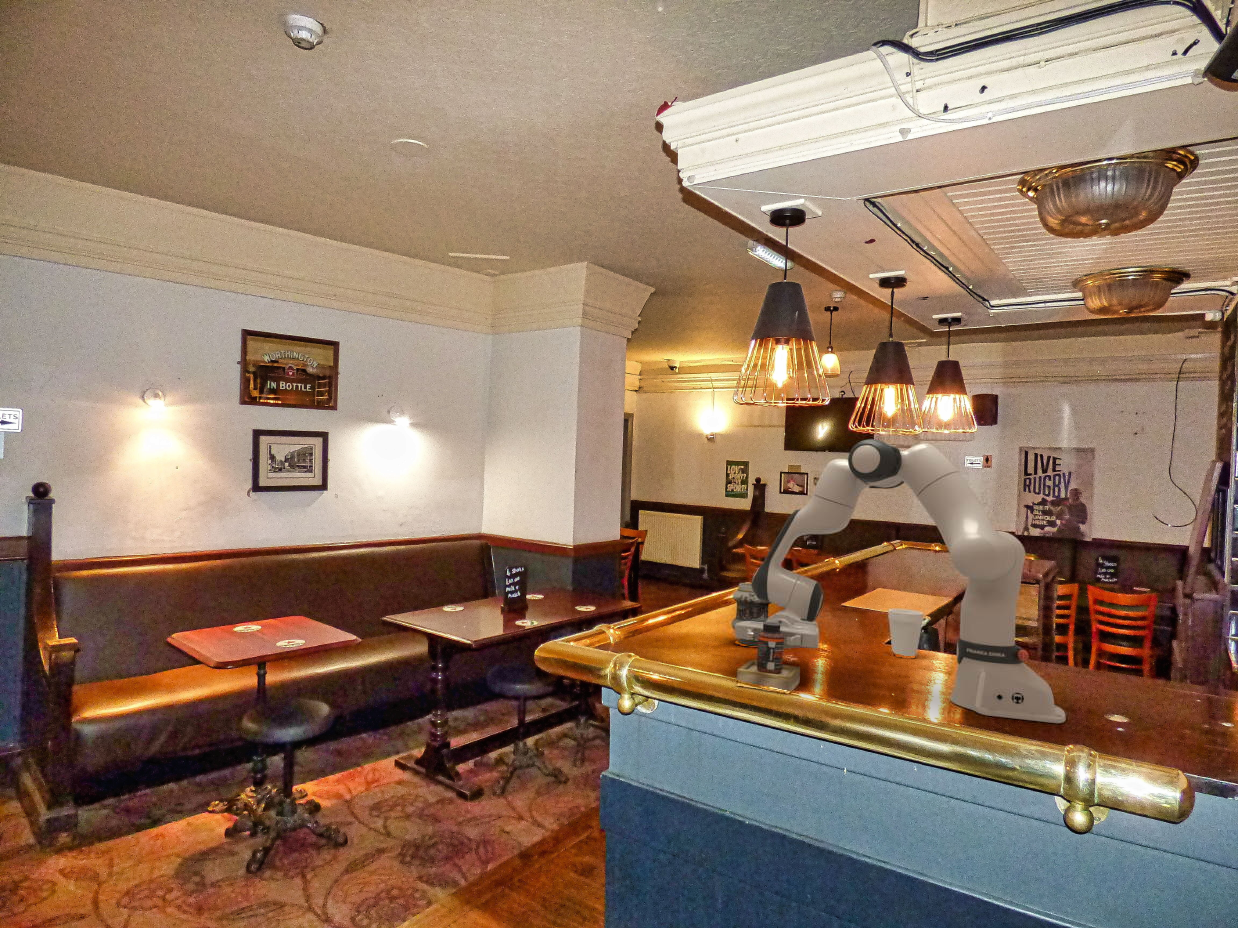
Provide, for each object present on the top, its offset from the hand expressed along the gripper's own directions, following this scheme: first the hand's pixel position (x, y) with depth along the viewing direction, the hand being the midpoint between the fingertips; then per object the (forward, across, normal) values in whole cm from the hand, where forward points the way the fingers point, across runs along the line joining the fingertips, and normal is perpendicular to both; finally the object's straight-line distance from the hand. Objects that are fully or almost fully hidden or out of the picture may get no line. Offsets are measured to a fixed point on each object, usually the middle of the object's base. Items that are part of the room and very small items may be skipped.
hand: (769, 639), depth 172 cm
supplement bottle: (-1, 0, +8) cm, 8 cm away
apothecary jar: (-45, -16, +11) cm, 49 cm away
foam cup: (-58, +26, +11) cm, 64 cm away
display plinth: (-1, 0, +11) cm, 11 cm away
